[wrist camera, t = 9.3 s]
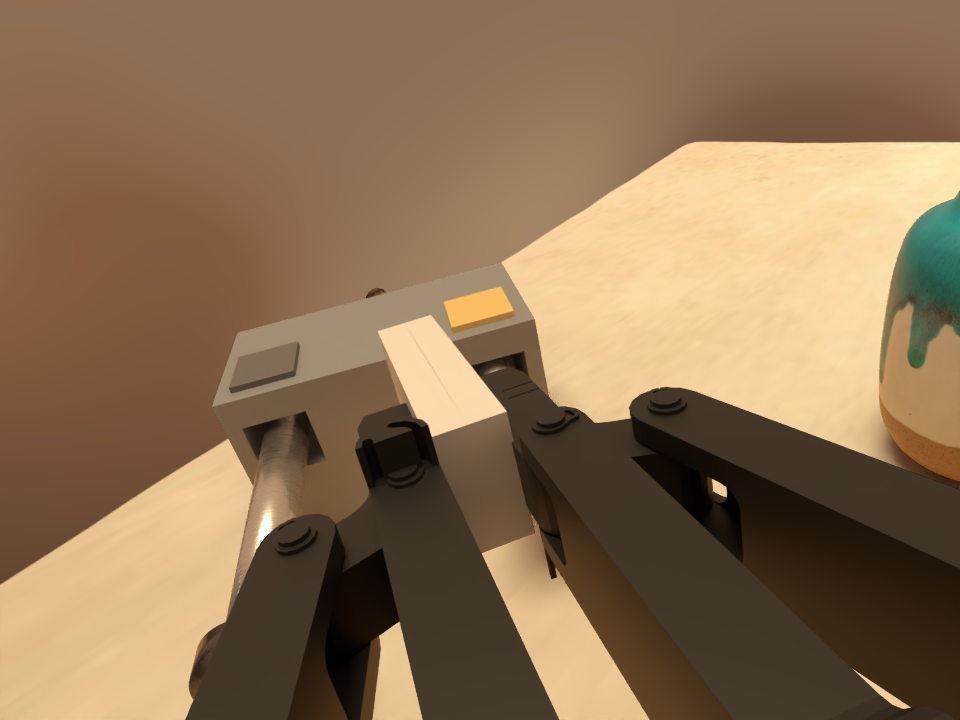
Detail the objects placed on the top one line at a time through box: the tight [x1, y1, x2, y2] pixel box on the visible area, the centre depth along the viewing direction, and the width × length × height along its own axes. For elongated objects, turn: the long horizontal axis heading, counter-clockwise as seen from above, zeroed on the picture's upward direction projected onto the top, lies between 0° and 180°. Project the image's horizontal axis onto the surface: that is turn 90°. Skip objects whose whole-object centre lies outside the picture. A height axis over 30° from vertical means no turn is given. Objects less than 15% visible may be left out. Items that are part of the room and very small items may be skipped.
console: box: [212, 263, 549, 524], centre depth 46 cm, size 20×10×12 cm, turn 101°
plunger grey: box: [189, 411, 311, 700], centre depth 35 cm, size 5×20×5 cm, turn 11°
